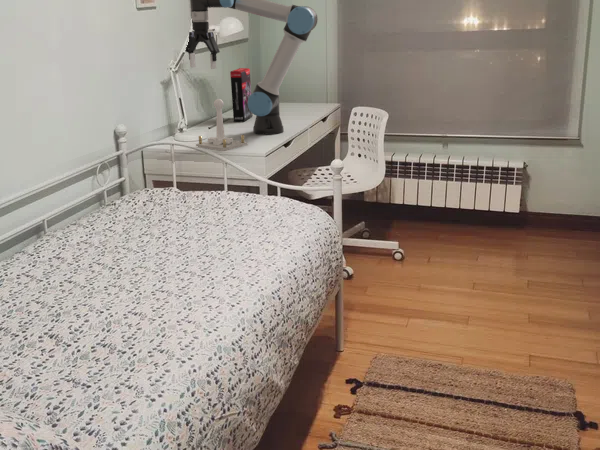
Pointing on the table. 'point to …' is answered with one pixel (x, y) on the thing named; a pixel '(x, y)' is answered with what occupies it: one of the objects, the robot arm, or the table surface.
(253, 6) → the robot arm
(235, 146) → the plate
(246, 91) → the graphics card box
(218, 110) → the joystick
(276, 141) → the table surface
